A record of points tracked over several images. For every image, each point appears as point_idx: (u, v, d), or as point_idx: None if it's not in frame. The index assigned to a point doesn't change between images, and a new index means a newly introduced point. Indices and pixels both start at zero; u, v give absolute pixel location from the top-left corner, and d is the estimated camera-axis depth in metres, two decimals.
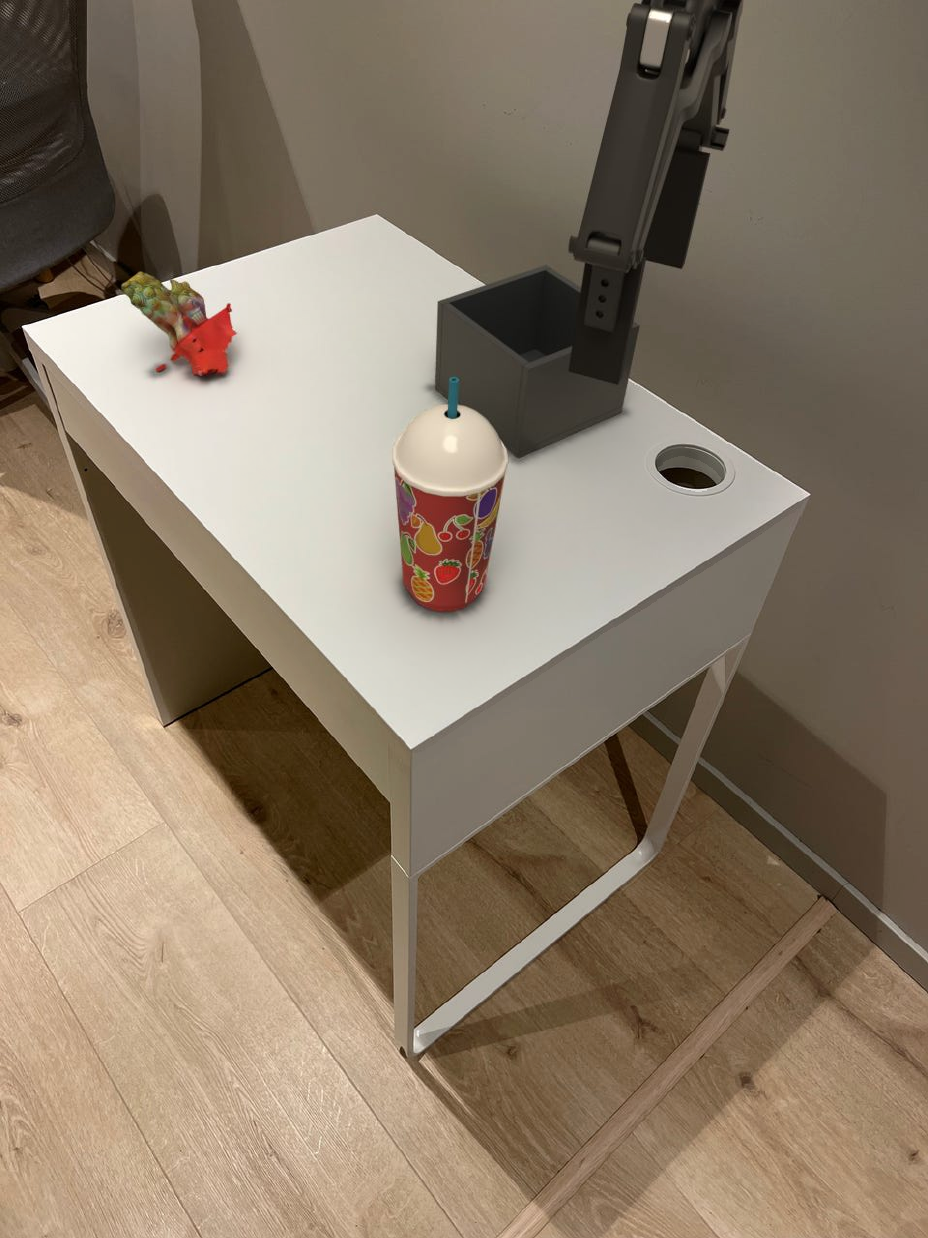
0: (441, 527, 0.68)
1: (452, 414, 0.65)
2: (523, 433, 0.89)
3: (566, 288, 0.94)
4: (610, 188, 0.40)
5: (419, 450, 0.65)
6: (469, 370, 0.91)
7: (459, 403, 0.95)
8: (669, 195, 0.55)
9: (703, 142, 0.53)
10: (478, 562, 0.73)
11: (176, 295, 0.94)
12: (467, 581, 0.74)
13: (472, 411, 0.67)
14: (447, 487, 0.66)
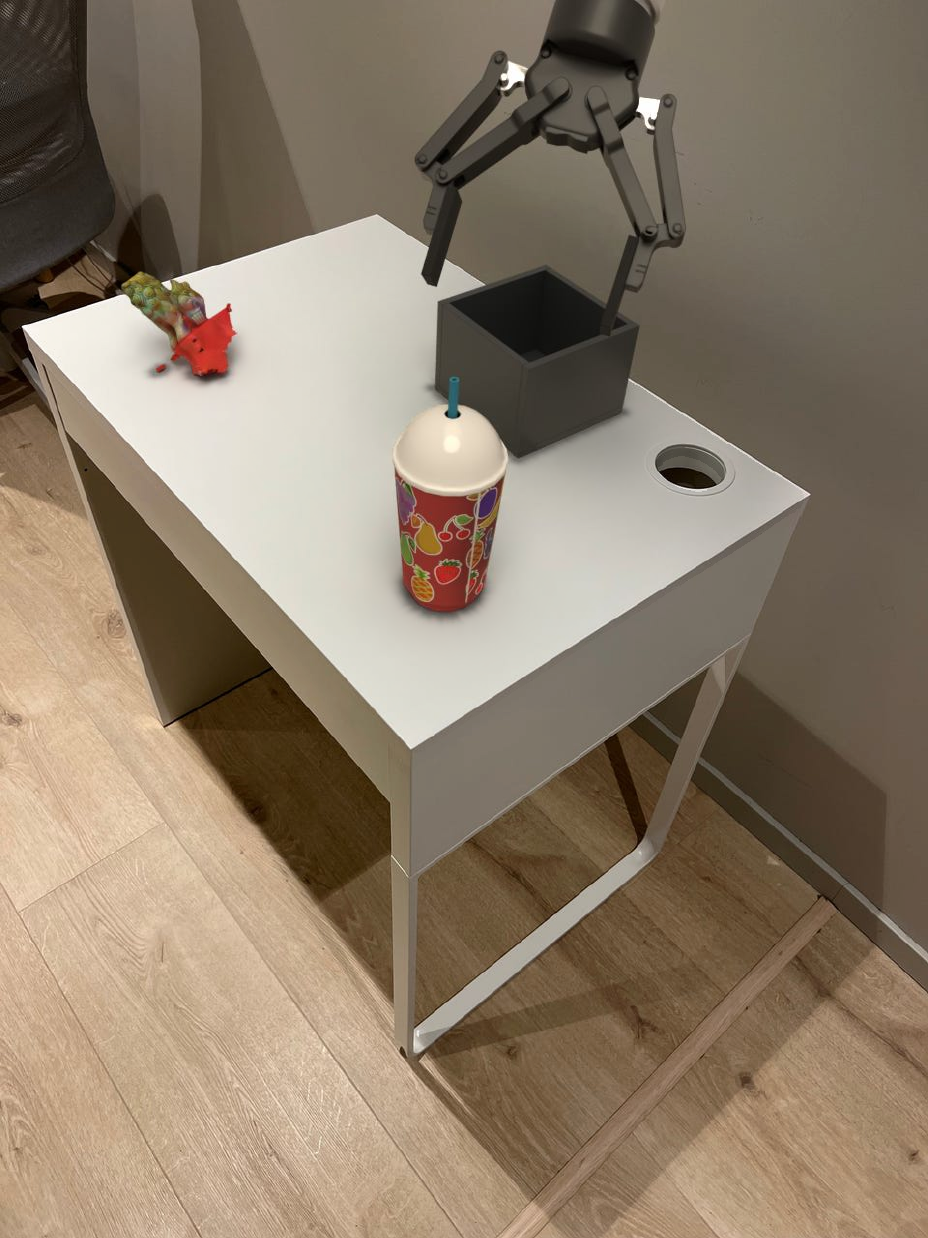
0: (441, 527, 0.68)
1: (452, 414, 0.65)
2: (523, 433, 0.89)
3: (566, 288, 0.94)
4: None
5: (420, 450, 0.65)
6: (469, 370, 0.91)
7: (459, 403, 0.95)
8: None
9: (639, 232, 0.67)
10: (478, 561, 0.73)
11: (176, 295, 0.94)
12: (467, 581, 0.74)
13: (472, 411, 0.67)
14: (447, 486, 0.66)
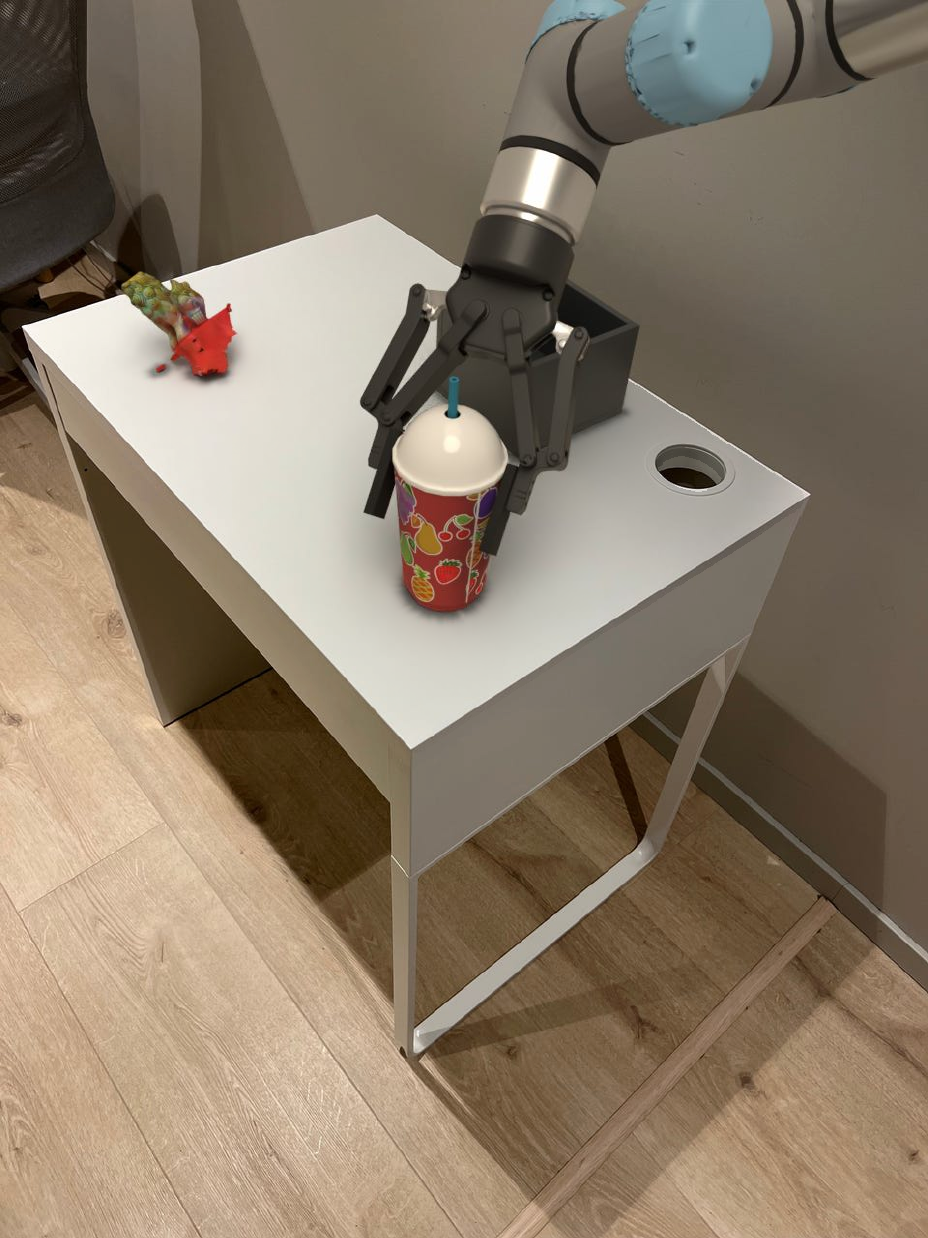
0: (441, 527, 0.68)
1: (452, 414, 0.65)
2: None
3: (566, 288, 0.94)
4: None
5: (420, 450, 0.65)
6: (469, 370, 0.91)
7: (459, 403, 0.95)
8: None
9: None
10: (478, 561, 0.73)
11: (176, 295, 0.94)
12: (467, 581, 0.74)
13: (472, 411, 0.67)
14: (447, 486, 0.66)
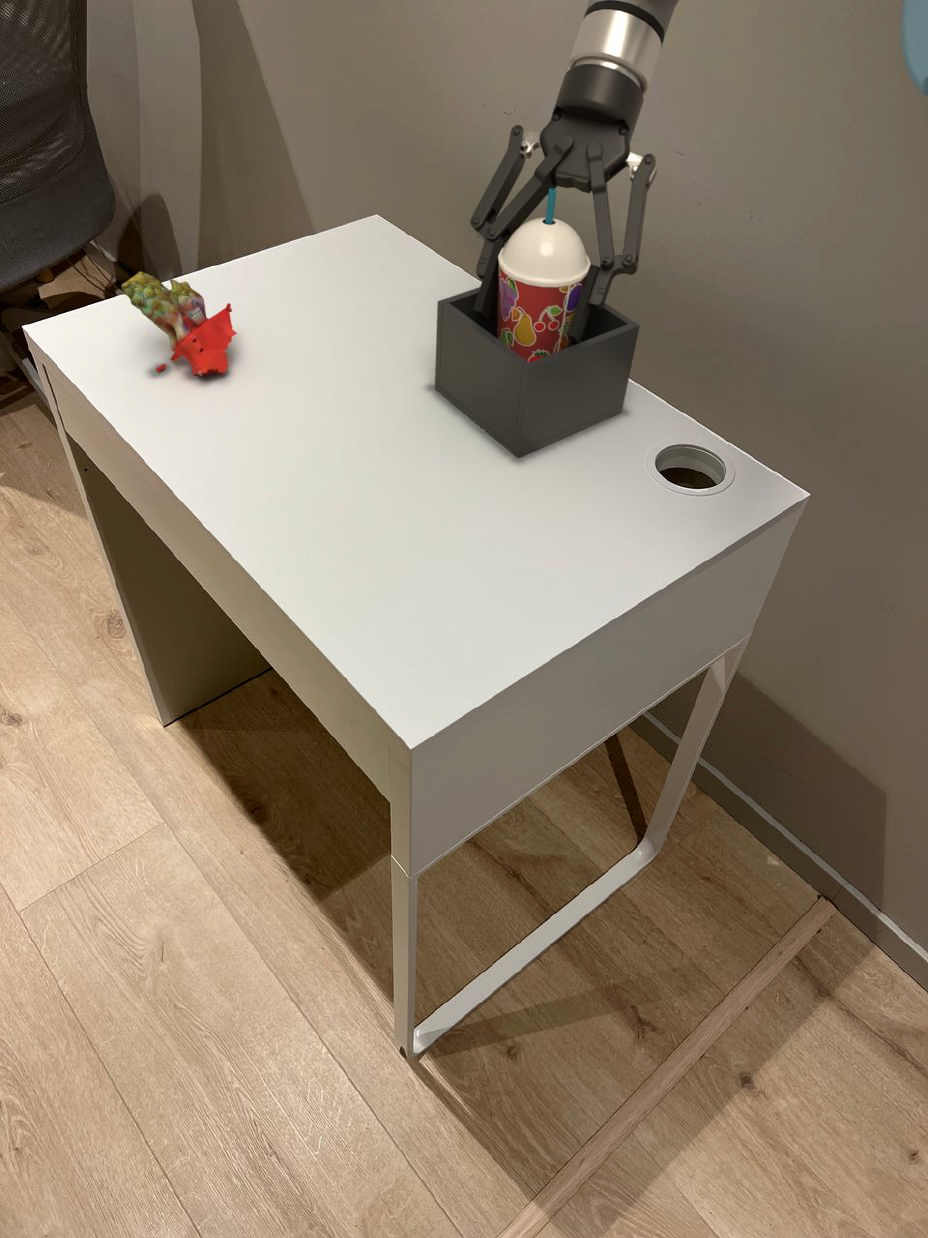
0: (537, 317, 0.86)
1: (549, 221, 0.83)
2: (523, 433, 0.89)
3: None
4: None
5: (523, 249, 0.83)
6: (469, 370, 0.91)
7: (459, 403, 0.95)
8: None
9: None
10: None
11: (176, 295, 0.94)
12: None
13: (563, 222, 0.84)
14: (545, 279, 0.83)
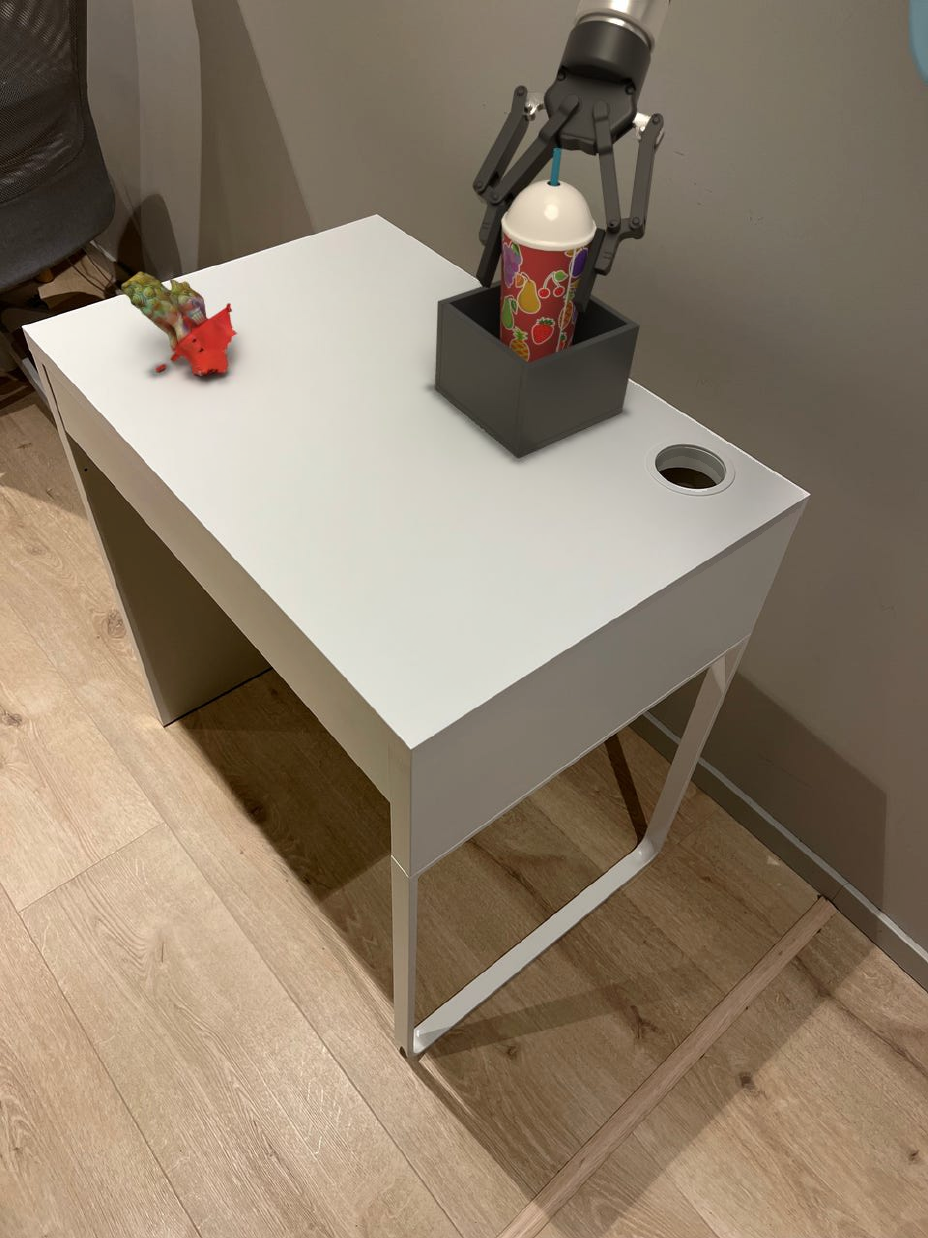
0: (541, 283, 0.83)
1: (554, 182, 0.80)
2: (523, 433, 0.89)
3: None
4: None
5: (528, 212, 0.80)
6: (469, 370, 0.91)
7: (459, 403, 0.95)
8: None
9: None
10: (567, 324, 0.88)
11: (176, 295, 0.94)
12: (557, 343, 0.89)
13: (568, 184, 0.82)
14: (550, 242, 0.81)
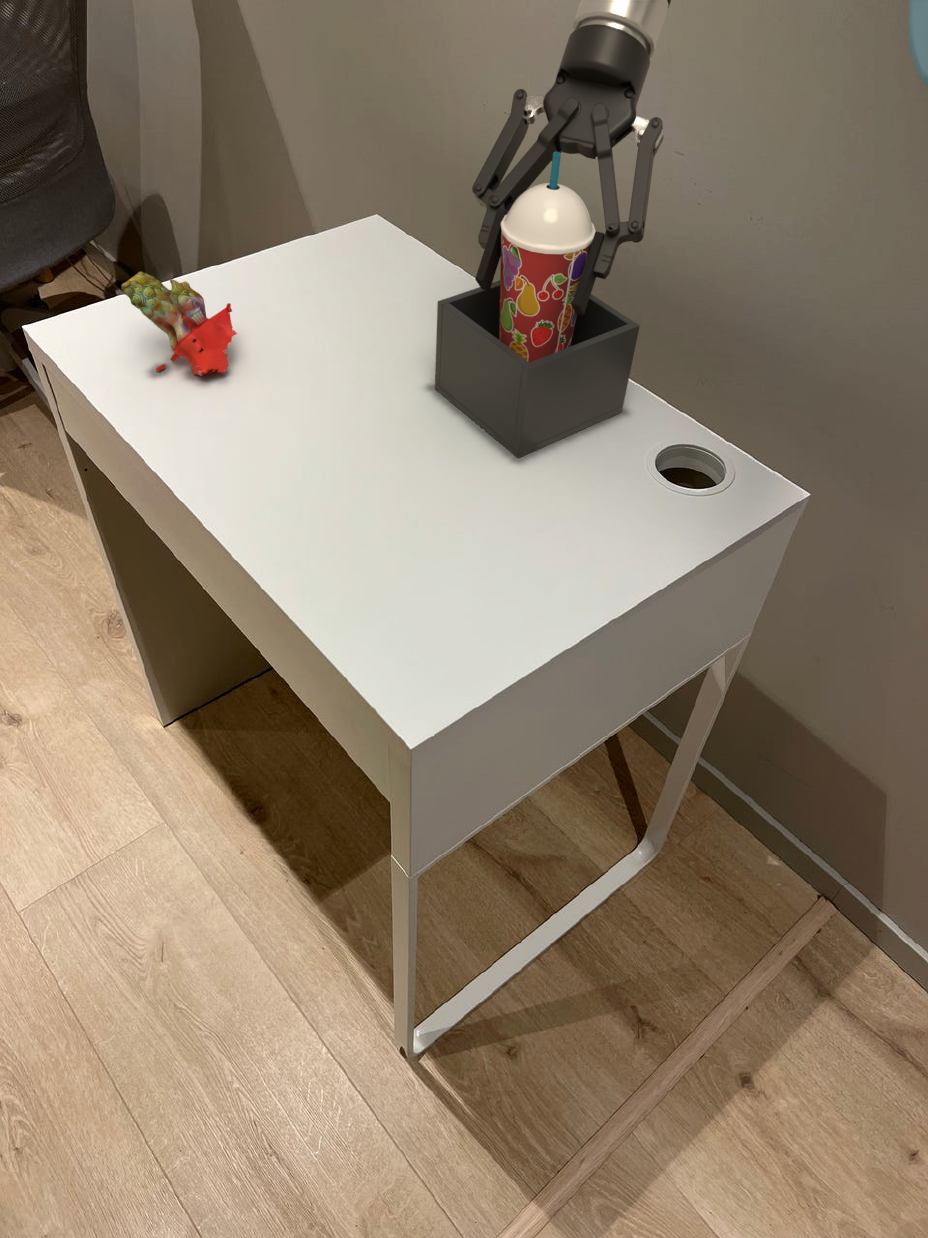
0: (541, 286, 0.84)
1: (553, 186, 0.81)
2: (523, 433, 0.89)
3: None
4: None
5: (527, 215, 0.81)
6: (469, 370, 0.91)
7: (459, 403, 0.95)
8: None
9: None
10: (566, 326, 0.88)
11: (176, 295, 0.94)
12: (556, 345, 0.89)
13: None
14: (549, 245, 0.81)
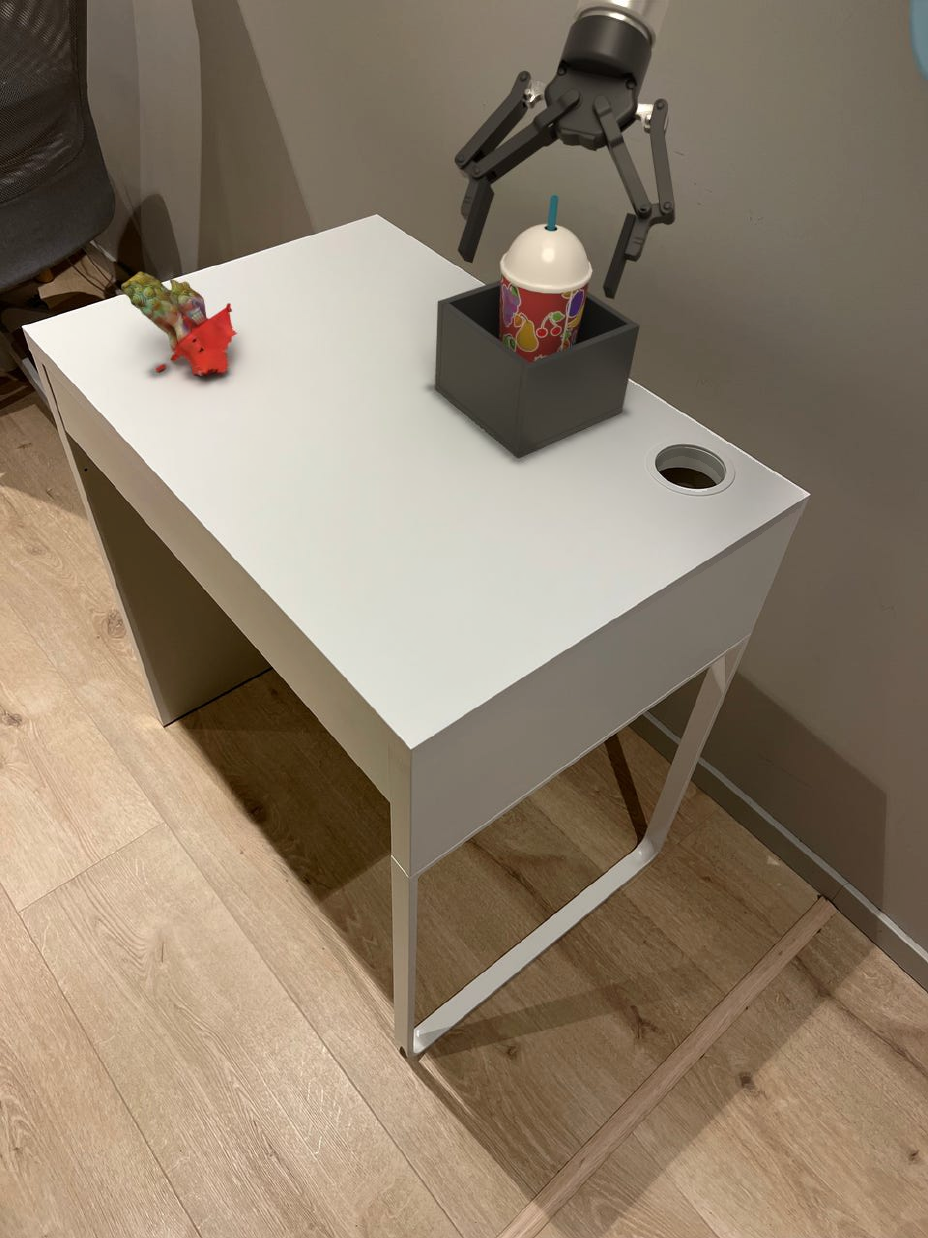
0: (539, 323, 0.86)
1: (551, 227, 0.83)
2: (523, 433, 0.89)
3: None
4: None
5: (526, 256, 0.83)
6: (469, 370, 0.91)
7: (459, 403, 0.95)
8: None
9: (636, 211, 0.82)
10: None
11: (176, 295, 0.94)
12: None
13: (565, 228, 0.85)
14: (547, 285, 0.83)
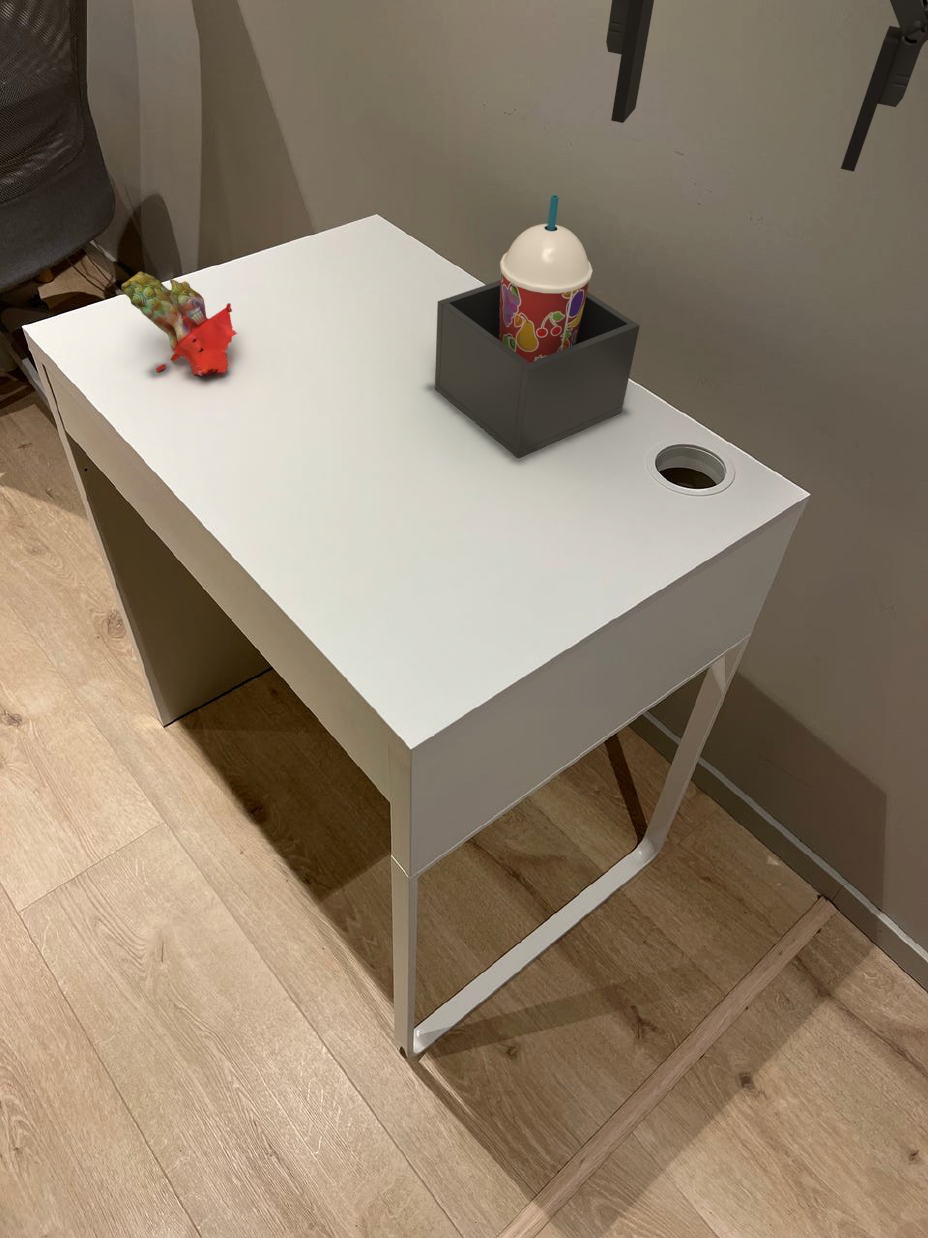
0: (539, 323, 0.86)
1: (551, 227, 0.83)
2: (523, 433, 0.89)
3: None
4: None
5: (526, 256, 0.83)
6: (469, 370, 0.91)
7: (459, 403, 0.95)
8: None
9: None
10: None
11: (176, 295, 0.94)
12: None
13: (565, 228, 0.85)
14: (547, 285, 0.83)
